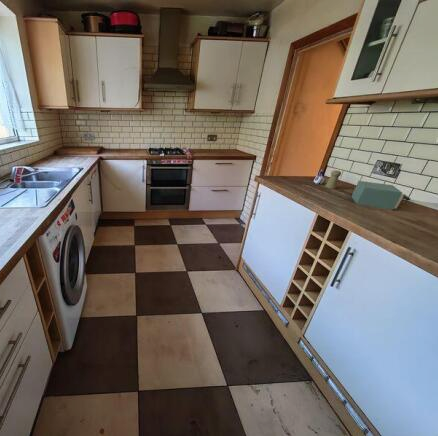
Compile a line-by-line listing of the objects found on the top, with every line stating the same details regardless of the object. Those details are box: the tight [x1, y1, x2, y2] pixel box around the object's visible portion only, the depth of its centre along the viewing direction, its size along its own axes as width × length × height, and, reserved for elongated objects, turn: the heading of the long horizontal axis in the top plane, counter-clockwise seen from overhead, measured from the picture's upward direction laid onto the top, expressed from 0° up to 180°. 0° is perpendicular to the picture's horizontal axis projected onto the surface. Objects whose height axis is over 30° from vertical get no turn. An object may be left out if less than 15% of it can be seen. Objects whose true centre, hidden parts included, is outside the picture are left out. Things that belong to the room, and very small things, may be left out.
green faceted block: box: [351, 180, 403, 211], centre depth 123 cm, size 15×15×10 cm
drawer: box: [394, 192, 411, 209], centre depth 121 cm, size 18×13×8 cm
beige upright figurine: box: [324, 169, 342, 190], centre depth 148 cm, size 6×6×11 cm
